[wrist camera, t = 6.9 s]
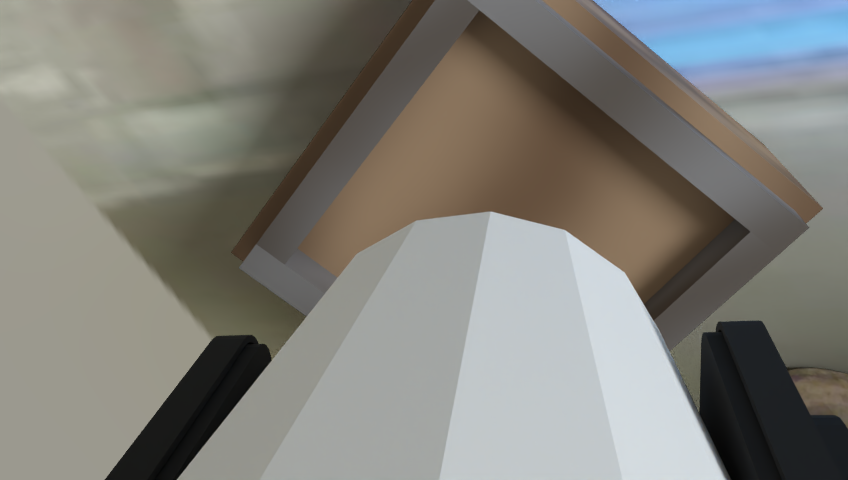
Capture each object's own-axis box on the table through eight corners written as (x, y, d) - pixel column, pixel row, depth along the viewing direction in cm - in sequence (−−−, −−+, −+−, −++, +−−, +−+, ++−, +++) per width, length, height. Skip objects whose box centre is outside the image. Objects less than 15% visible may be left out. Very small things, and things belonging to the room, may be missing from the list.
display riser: (763, 144, 26) (839, 225, 20) (532, 367, 31) (530, 493, 24) (488, -88, 24) (469, -84, 18) (288, 187, 29) (216, 269, 23)
